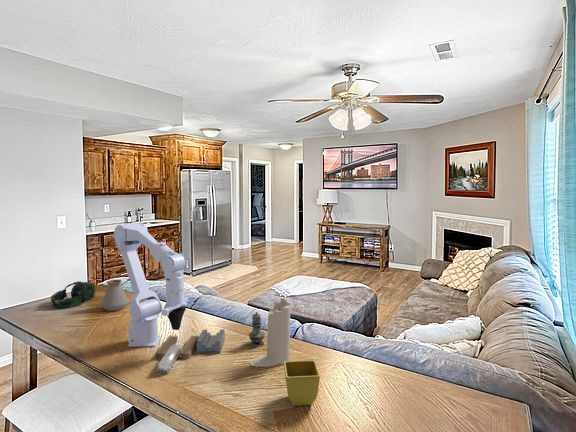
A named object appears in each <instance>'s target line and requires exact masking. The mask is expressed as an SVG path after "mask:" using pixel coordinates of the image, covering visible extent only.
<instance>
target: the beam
mask: <svg viewBox="0 0 576 432" xmlns="http://www.w3.org/2000/svg"><path fill="white" fill-rule="evenodd" d="M199 336H200V335H190V337H189V338H188V340H187V342H186V343H185V345H184V347H183V348H182V349H181V352H180V354H179V356H180V360H187V358H189V359H190V358H191V357H192V355H193V353H194V351H195V349H196V348H197V340H198V338H199ZM177 342H178V336H177V335H169V336H168V337H167V338H166V340H165V341H164V342H163V344H162V345H161V346H160V347H159V349H158V350H157V352H156V353H155V354H156V355H155V359H156V360H162V358H163V357H164V355H165V354H166V352H167V351H168V349H169V348H170V346H172V345H176V343H177ZM189 359H188V360H189Z"/></svg>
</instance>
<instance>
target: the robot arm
mask: <svg viewBox="0 0 576 432" xmlns="http://www.w3.org/2000/svg"><path fill="white" fill-rule="evenodd" d="M113 238H114V240H115V244H116V247H117V250H119V252H120V255H121V258H122V261H123V264H124V267H125V270H126V274H127V277H128V279H129V282H130V285H131V288H132V292H133V296H132V298H131V299H129V301H128V306H129V314H130V317H131V319H130V321H129V322H128V323H129V324H128V347H129V348H131V347H136V348H137V347H138V348H139V347H155V346H156V345H157V344H158V343H159V342H160V340H161V339H162V335H159V333H158V332H159V331H158V318H159V317H160V314H161V316H162V317H167V319H168V320H169V322H170V326H171V329H172V331H179V330H180V329H181V325H182V320H183V316H184V314H185V312H186V310H187V307H186V306H188V302H189V297H188V296H185V287H184V286H185V283H184V282H185V280H184V279H185V278H184V270H186V268H187V265H188V260H187V257H186V256H185V255H184V253H183V252H179V253H178V252H176V251H175V250H173V249H171V248H170V247H169V246H168V245H167V243H165V242H164V241H163V242H162V241H160V242H158V241H157V240H156V239H155V238H154V237H153V235H152V234H150V233H149V231H148V227H147V226H146V225H145V224H144V223H143V222H137V223H130V224H118V225H116V226H115V228H114V231H113ZM141 245H143V246H145V248H147V249H149V250H150V255H151V256H152V258H154V259H156V261H158V262H159V263H160V266H161V269H162V271H163V276H164V278H165V294H166V295H165V299H166V301H165V305H164V307H163V304H162V301H161V300H160V298H159V297H158V293H157V292H156V291H155V292H154V291H152V290H150V287H149V285H148V281H147V280H146V279H147V278H146V276H145V273H144V270H143V267H142V264H141V261H140V257H139V255H138V252H137V250H138V248H139V247H141Z"/></svg>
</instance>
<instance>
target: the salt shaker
mask: <svg viewBox="0 0 576 432" xmlns="http://www.w3.org/2000/svg"><path fill="white" fill-rule="evenodd" d="M262 324H263V323H261V314H259V313H258V311H255V314H253V315H252V323H251V326H252V331H251V332H249V333H248V336H249V340H250V342H249V346H251V347H253V348H260V347H262V346H264V345H265V342H264V341H263V340H264V337H265V335H266V333H265V332H263V331H262Z"/></svg>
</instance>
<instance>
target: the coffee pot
mask: <svg viewBox="0 0 576 432" xmlns="http://www.w3.org/2000/svg"><path fill="white" fill-rule="evenodd" d="M128 282H130V280H129V278H127V280H125V281H122V279H111V280H107V281H106V284H107V286H108V287H107V289H106V291H105V294H104V296H103V299H102V301H101V305H100V306H101V307H102V308H103V309H104V310H105V311H107V312H118V311H121V310H123V309H125V307H127V305H129V298H128V297H127V294H126V293H125V291H124V289H123V286H124V285H125V284H127V283H128Z"/></svg>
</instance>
